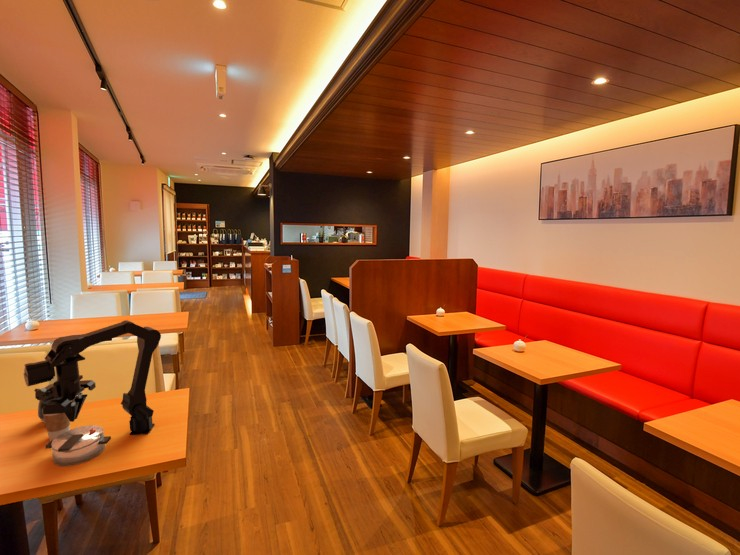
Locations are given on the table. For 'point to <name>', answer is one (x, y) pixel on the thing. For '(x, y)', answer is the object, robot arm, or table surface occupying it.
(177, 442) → the table surface
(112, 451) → the table surface
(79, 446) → the lid
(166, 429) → the table surface
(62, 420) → the coffee cup
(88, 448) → the pot
